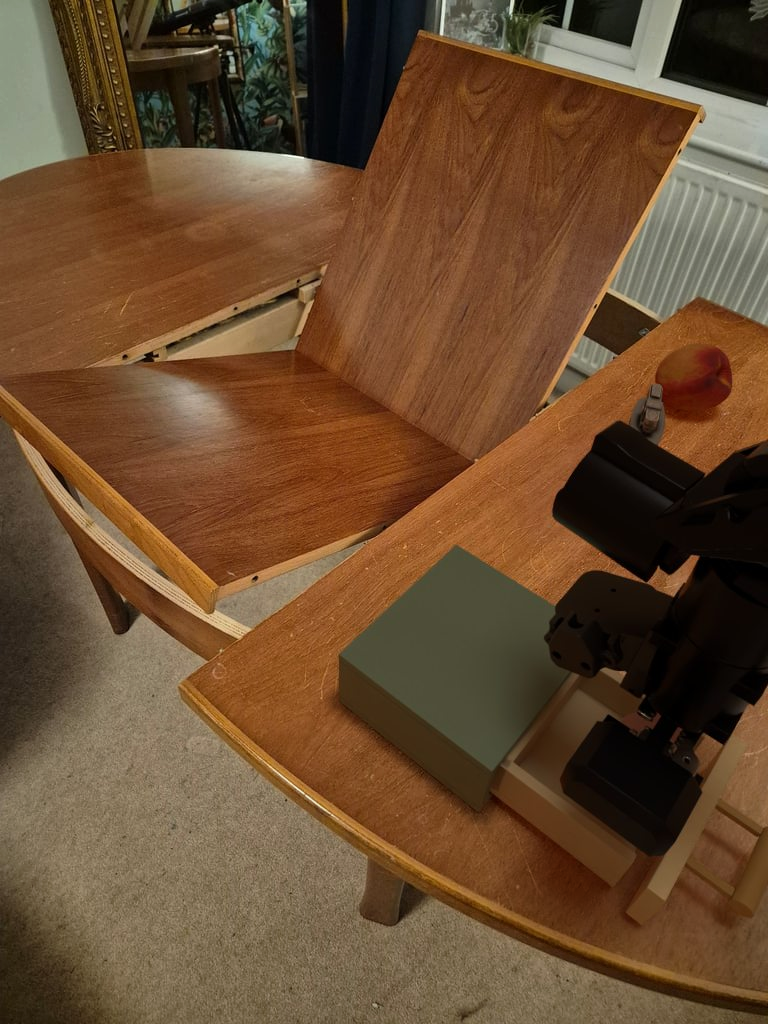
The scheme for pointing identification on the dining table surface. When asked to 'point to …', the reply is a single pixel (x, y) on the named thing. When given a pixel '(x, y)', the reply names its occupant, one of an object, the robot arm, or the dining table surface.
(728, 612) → the robot arm
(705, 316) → the dining table surface
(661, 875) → the drawer
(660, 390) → the brown elongated piece
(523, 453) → the dining table surface
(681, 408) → the fruit
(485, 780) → the cabinet
